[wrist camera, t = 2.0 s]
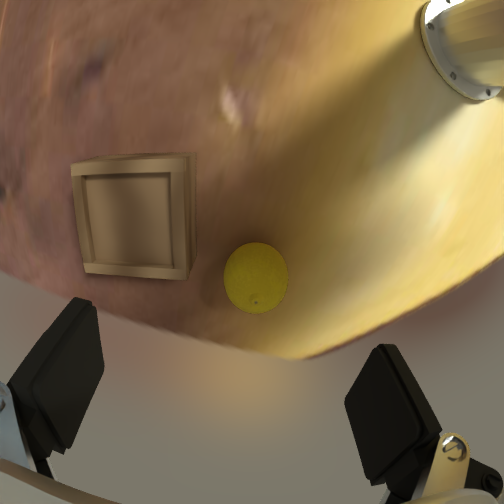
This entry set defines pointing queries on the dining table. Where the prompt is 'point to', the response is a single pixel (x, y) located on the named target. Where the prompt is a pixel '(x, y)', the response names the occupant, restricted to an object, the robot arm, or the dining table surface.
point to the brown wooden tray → (137, 214)
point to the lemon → (255, 277)
